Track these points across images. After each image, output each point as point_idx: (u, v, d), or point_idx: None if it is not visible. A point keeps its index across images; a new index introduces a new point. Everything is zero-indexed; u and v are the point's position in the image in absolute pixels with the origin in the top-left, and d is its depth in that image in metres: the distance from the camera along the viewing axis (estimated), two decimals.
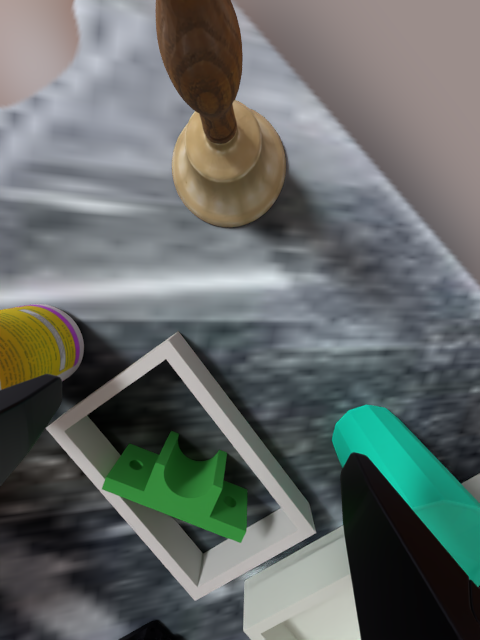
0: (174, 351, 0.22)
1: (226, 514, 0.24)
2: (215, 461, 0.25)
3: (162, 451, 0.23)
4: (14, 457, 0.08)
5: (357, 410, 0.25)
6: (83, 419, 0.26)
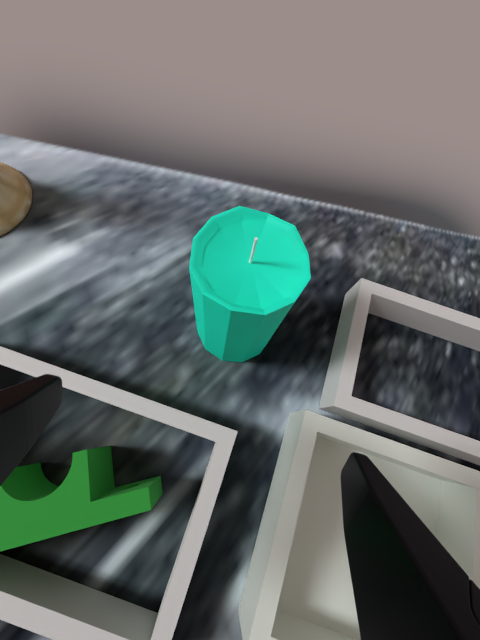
0: None
1: (120, 492, 0.17)
2: None
3: None
4: (14, 457, 0.08)
5: None
6: None
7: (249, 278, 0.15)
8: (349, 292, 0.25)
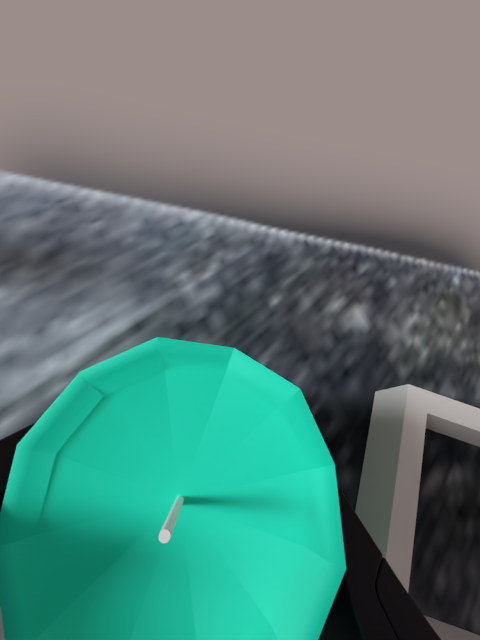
0: None
1: None
2: None
3: None
4: None
5: None
6: None
7: (172, 558, 0.05)
8: (383, 395, 0.16)
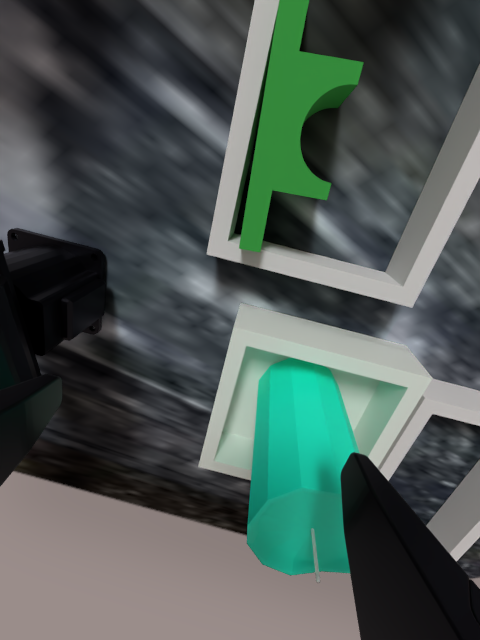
0: None
1: None
2: None
3: None
4: (14, 457, 0.08)
5: (319, 366, 0.21)
6: None
7: (292, 527, 0.14)
8: None
